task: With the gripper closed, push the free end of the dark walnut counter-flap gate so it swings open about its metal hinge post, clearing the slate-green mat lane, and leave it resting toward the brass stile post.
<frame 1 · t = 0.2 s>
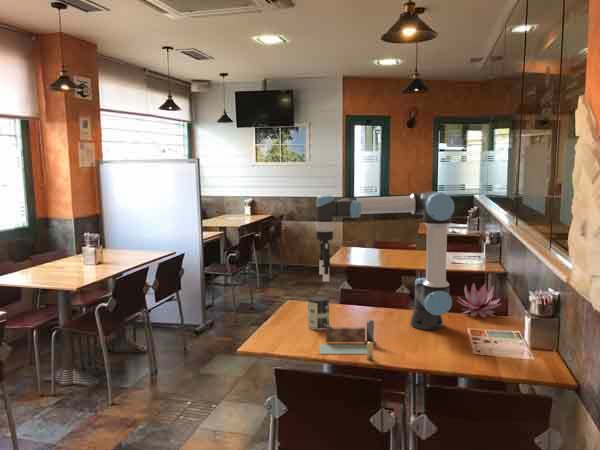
hand: (324, 277, 212), 27 cm above the table, fingers open, 13 cm apart
stile post: (369, 359, 188), on the table
hinge post: (370, 343, 205), on the table
gate: (345, 333, 205), point 4 cm above the table, hinge at 0.0°
decorative flower: (477, 315, 243), on the table
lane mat: (343, 349, 198), on the table
coffee can: (318, 326, 228), on the table
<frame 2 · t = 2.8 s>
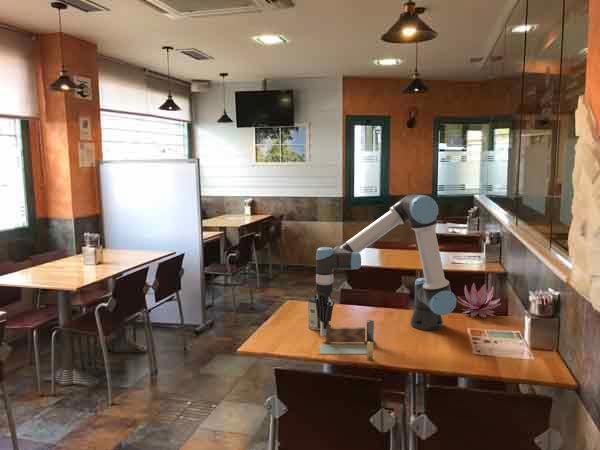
hand: (323, 335, 209), 2 cm above the table, fingers closed
gate: (345, 333, 205), point 4 cm above the table, hinge at 0.4°, touching gripper
everything else where it was.
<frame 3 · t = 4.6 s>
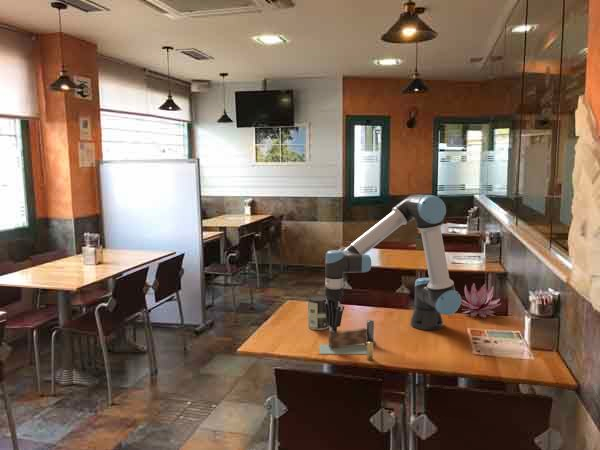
hand: (332, 340, 202), 2 cm above the table, fingers closed
gate: (347, 336, 201), point 4 cm above the table, hinge at 21.4°, touching gripper
everything else where it was.
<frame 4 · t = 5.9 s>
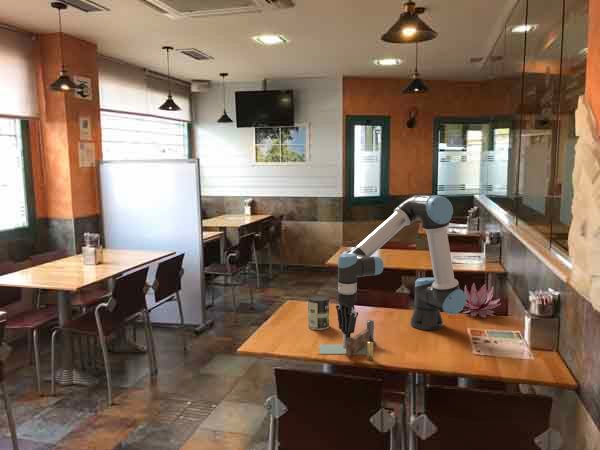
hand: (346, 347, 195), 2 cm above the table, fingers closed
gate: (358, 341, 196), point 4 cm above the table, hinge at 56.0°, touching gripper
everything else where it was.
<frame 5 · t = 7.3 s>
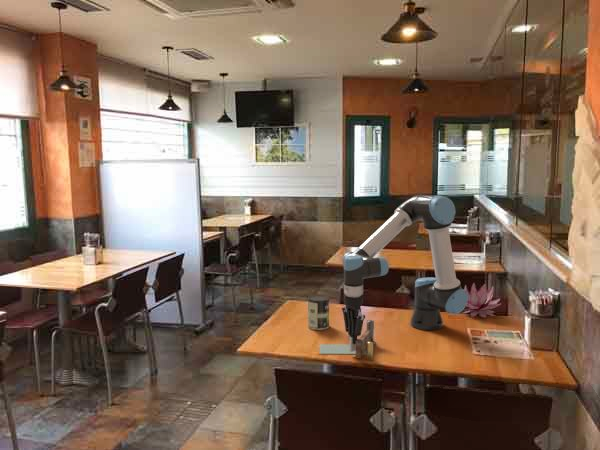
hand: (353, 350, 192), 2 cm above the table, fingers closed
gate: (363, 342, 195), point 4 cm above the table, hinge at 68.7°, touching gripper
everything else where it was.
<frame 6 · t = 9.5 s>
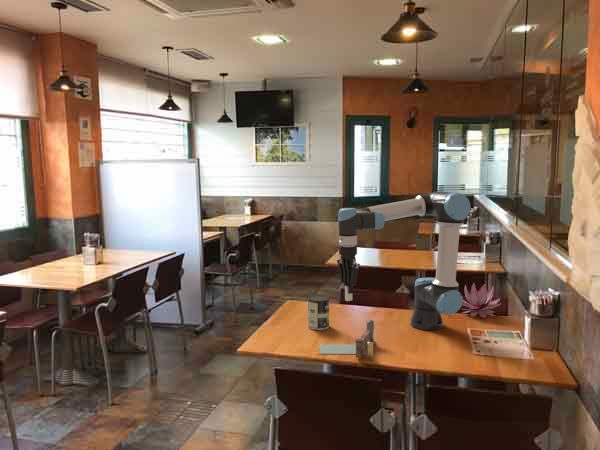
hand: (348, 300, 200), 20 cm above the table, fingers closed
gate: (363, 342, 195), point 4 cm above the table, hinge at 68.9°
everything else where it was.
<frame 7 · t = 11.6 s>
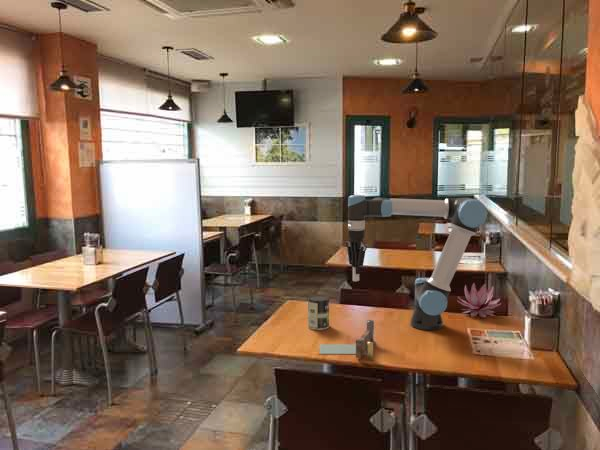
hand: (355, 280, 216), 24 cm above the table, fingers closed
nothing on the table moved.
at the end: gate at +69° (first picture: +0°); coffee can moved 0.2 cm from its start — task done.
